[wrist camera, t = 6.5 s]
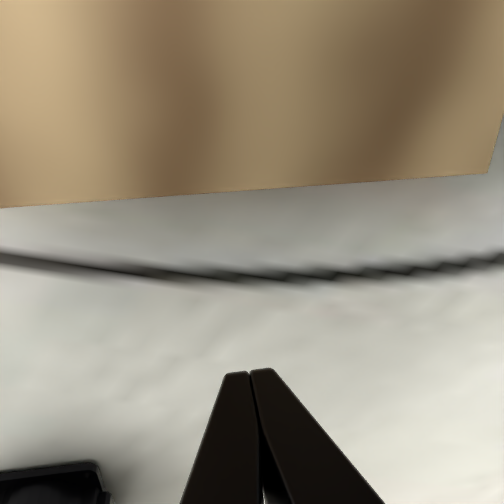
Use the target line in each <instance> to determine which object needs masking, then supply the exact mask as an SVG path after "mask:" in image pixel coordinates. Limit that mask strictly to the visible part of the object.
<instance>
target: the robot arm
mask: <svg viewBox="0 0 504 504" xmlns="http://www.w3.org/2000/svg"><path fill="white" fill-rule="evenodd" d="M263 493H264V499H265V504H385V503H384V502H383V500H382V499H381V498H380V497H379V496H378V494H377V493H376V492H375V491H374V489H373V488H372V487H371V486H370V485H369V483H368V482H367V481H366V480H365V479H364V477H363V476H362V475H361V474H360V473H359V471H358V470H357V469H356V468H355V467H354V465H353V464H352V463H351V462H350V461H349V459H348V458H347V457H346V456H345V455H344V453H343V452H342V451H341V450H340V449H339V447H338V446H337V445H336V444H335V443H334V441H333V440H332V439H331V438H330V437H329V435H328V434H327V433H326V432H325V430H324V429H323V428H322V427H321V426H320V424H319V423H318V422H317V421H316V420H315V418H314V417H313V416H312V415H311V414H310V412H309V411H308V410H307V409H306V408H305V406H304V405H303V404H302V403H301V402H300V400H299V399H298V398H297V397H296V396H295V394H294V393H293V392H292V391H291V390H290V388H289V387H288V386H287V385H286V384H285V382H284V381H283V380H282V379H281V377H280V376H279V375H278V374H277V373H276V372H275V370H274V369H272V368H263V369H256V370H252V371H250V373H248V372H247V371H240V372H233V373H227V374H226V375H225V376H224V378H223V381H222V384H221V387H220V390H219V392H218V395H217V398H216V401H215V404H214V407H213V410H212V412H211V415H210V418H209V421H208V424H207V427H206V429H205V432H204V435H203V438H202V441H201V444H200V447H199V449H198V452H197V455H196V458H195V461H194V464H193V467H192V469H191V472H190V475H189V478H188V481H187V484H186V486H185V489H184V492H183V495H182V498H181V501H180V504H264V499H263ZM0 504H114V501H113V498H112V495H111V494H110V493H109V492H108V491H106V489H105V486H104V483H103V480H102V477H101V474H100V471H99V468H98V466H97V465H96V464H93V463H83V464H75V465H67V466H59V467H51V468H43V469H35V470H27V471H19V472H11V473H3V474H0Z"/></svg>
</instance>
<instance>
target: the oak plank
mask: <svg viewBox="0 0 504 504" xmlns="http://www.w3.org/2000/svg"><path fill="white" fill-rule="evenodd" d="M503 114H504V0H0V208H9V207H23V206H37V205H51V204H65V203H79V202H93V201H107V200H120V199H134V198H148V197H162V196H176V195H190V194H204V193H218V192H232V191H246V190H260V189H274V188H288V187H302V186H316V185H330V184H344V183H358V182H372V181H386V180H400V179H414V178H428V177H442V176H456V175H470V174H484V173H487V172H488V169H489V165H490V161H491V158H492V154H493V150H494V147H495V143H496V140H497V136H498V132H499V129H500V125H501V121H502V118H503Z"/></svg>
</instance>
